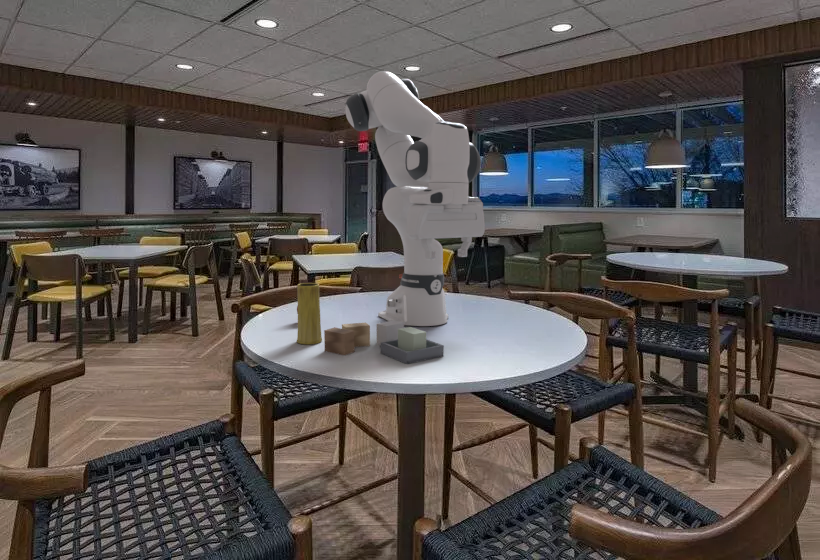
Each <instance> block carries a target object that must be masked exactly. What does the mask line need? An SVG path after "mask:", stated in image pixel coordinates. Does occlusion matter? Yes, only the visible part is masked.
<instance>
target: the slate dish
mask: <svg viewBox="0 0 820 560" xmlns="http://www.w3.org/2000/svg"><path fill="white" fill-rule="evenodd" d="M379 346H380V348H379V349H380V354H383V355H385V356H387V357H389V358H392V359H394V360H396V361H399V362H401V363H404V364H406V365H409V364H413V363H418V362H423V361H428V360H432V359H437V358H441V357H444V351H445V350H444V347H445V345H444V344H441V343H438V342H435V341H432V340H430V339H426V348H423V349H418V350H413V351H408V352H407V351H405V350H402V349H400V348H398V339H397V340H391V341H385V342H380V344H379Z"/></svg>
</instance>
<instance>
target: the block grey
mask: <svg viewBox="0 0 820 560" xmlns="http://www.w3.org/2000/svg"><path fill="white" fill-rule="evenodd" d="M401 328H405V325H404V322H401V321H396V320H392V321H388V320H386V321H383V322H379V323H376V344H377V345H380V342H385V341H391V340H397V339H398V329H401Z"/></svg>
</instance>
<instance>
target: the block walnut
mask: <svg viewBox="0 0 820 560" xmlns="http://www.w3.org/2000/svg"><path fill="white" fill-rule="evenodd" d="M323 332H324V335H323V336H324V338H323V339H324V342H323V343H324V352H326V351H327V353H332V354H336V355H341V356H347V355H350V354H354V353H355V347H354V331H352V330H346V329H342V328H339V327H332V328H327V329H325V330H324V331H323Z"/></svg>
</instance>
